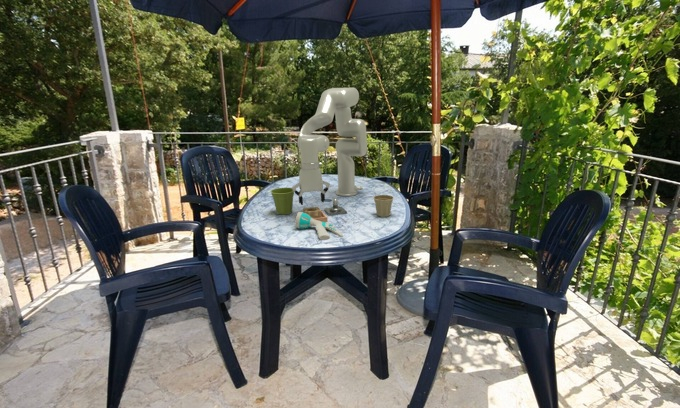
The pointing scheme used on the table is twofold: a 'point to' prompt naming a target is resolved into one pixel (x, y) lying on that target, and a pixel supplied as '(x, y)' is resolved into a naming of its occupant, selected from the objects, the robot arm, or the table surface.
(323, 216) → the terracotta tray
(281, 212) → the plant pot
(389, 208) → the flower pot
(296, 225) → the garden hose nozzle
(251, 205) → the table surface
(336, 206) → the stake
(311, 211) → the wooden ring
